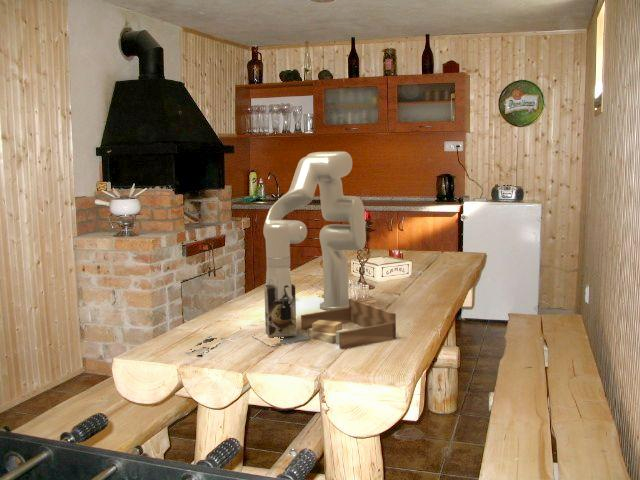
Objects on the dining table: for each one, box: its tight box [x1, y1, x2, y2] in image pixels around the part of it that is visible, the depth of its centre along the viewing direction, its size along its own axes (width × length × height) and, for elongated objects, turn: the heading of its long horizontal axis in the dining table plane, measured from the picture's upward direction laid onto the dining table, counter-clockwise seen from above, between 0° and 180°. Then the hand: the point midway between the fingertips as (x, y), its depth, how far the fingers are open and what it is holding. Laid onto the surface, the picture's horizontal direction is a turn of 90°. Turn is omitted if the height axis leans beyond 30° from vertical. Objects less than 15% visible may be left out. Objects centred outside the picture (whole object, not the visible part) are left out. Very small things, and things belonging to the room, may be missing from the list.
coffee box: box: [263, 283, 298, 338], centre depth 208 cm, size 9×6×16 cm
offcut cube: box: [335, 328, 349, 345], centre depth 201 cm, size 4×4×4 cm
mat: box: [253, 331, 311, 346], centre depth 209 cm, size 14×14×1 cm
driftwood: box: [189, 335, 217, 356], centre depth 203 cm, size 21×7×2 cm, turn 164°
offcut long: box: [306, 328, 336, 345], centre depth 207 cm, size 12×6×3 cm, turn 41°
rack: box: [300, 298, 397, 350], centre depth 211 cm, size 26×20×8 cm
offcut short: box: [312, 320, 343, 334], centre depth 207 cm, size 8×5×2 cm, turn 63°
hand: (280, 316), depth 208 cm, fingers closed on coffee box, 7 cm apart
